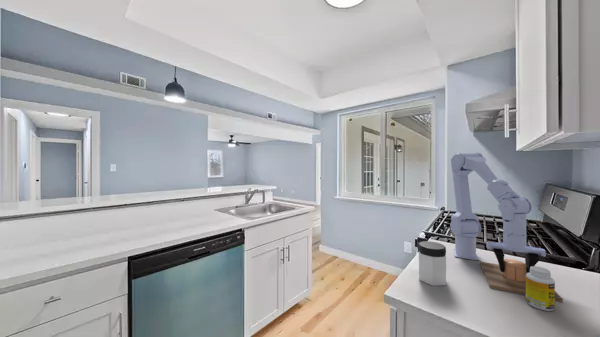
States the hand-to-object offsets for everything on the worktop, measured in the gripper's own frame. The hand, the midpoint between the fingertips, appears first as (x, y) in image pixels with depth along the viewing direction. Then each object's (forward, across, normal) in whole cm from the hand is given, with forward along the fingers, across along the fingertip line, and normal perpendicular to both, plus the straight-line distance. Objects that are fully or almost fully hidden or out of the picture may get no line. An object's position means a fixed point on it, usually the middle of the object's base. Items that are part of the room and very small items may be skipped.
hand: (514, 273), depth 78 cm
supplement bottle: (+3, +2, -15) cm, 15 cm away
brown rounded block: (+1, 0, 0) cm, 1 cm away
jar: (+3, -24, -13) cm, 27 cm away
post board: (+2, 0, 0) cm, 2 cm away
